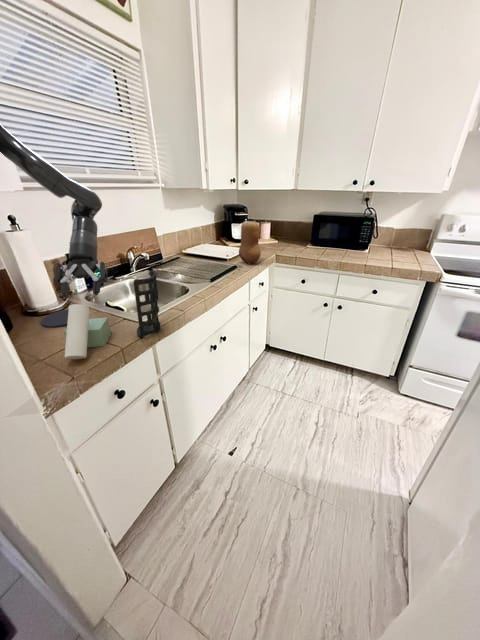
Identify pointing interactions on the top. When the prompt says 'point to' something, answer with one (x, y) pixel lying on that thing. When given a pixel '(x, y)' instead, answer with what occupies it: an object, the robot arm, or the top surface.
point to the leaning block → (97, 332)
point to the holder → (153, 292)
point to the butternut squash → (250, 242)
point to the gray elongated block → (77, 332)
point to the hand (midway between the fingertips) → (80, 295)
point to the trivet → (56, 319)
